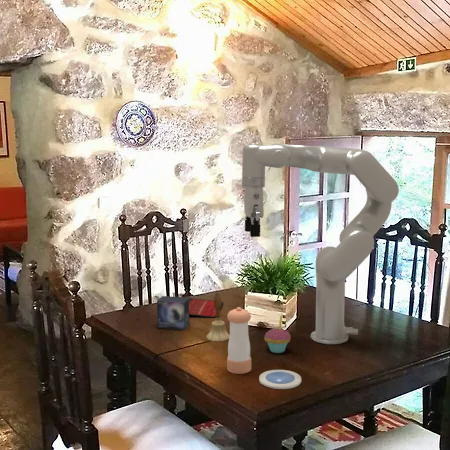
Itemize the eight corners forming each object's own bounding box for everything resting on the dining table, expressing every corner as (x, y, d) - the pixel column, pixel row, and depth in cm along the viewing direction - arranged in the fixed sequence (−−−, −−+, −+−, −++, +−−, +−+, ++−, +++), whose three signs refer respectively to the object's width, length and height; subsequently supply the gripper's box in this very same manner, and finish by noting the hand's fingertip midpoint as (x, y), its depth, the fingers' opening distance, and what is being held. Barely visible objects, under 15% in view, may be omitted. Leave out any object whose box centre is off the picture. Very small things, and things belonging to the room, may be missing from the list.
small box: (156, 328, 228) (155, 300, 226) (162, 322, 234) (161, 295, 233) (184, 330, 226) (184, 302, 224) (190, 324, 232) (189, 297, 230)
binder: (175, 312, 241) (185, 297, 261) (175, 318, 241) (185, 302, 262) (216, 315, 239) (224, 300, 259) (216, 321, 239) (224, 305, 260)
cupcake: (274, 344, 211) (274, 309, 209) (295, 349, 206) (296, 314, 204) (259, 351, 205) (259, 315, 203) (281, 357, 200) (281, 320, 198)
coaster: (299, 372, 187) (299, 369, 187) (302, 389, 176) (302, 386, 175) (259, 372, 188) (259, 369, 188) (259, 388, 176) (259, 385, 176)
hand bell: (227, 342, 214) (227, 296, 211) (203, 340, 215) (203, 295, 213) (232, 334, 222) (232, 289, 219) (209, 332, 223) (208, 288, 221)
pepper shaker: (231, 375, 186) (230, 312, 183) (224, 366, 193) (223, 305, 190) (254, 372, 188) (254, 309, 185) (246, 363, 195) (246, 303, 192)
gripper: (270, 185, 199) (269, 238, 202) (259, 180, 216) (258, 229, 219) (246, 185, 198) (245, 239, 201) (237, 180, 215) (236, 229, 218)
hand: (252, 234), depth 210 cm, fingers open, 9 cm apart
